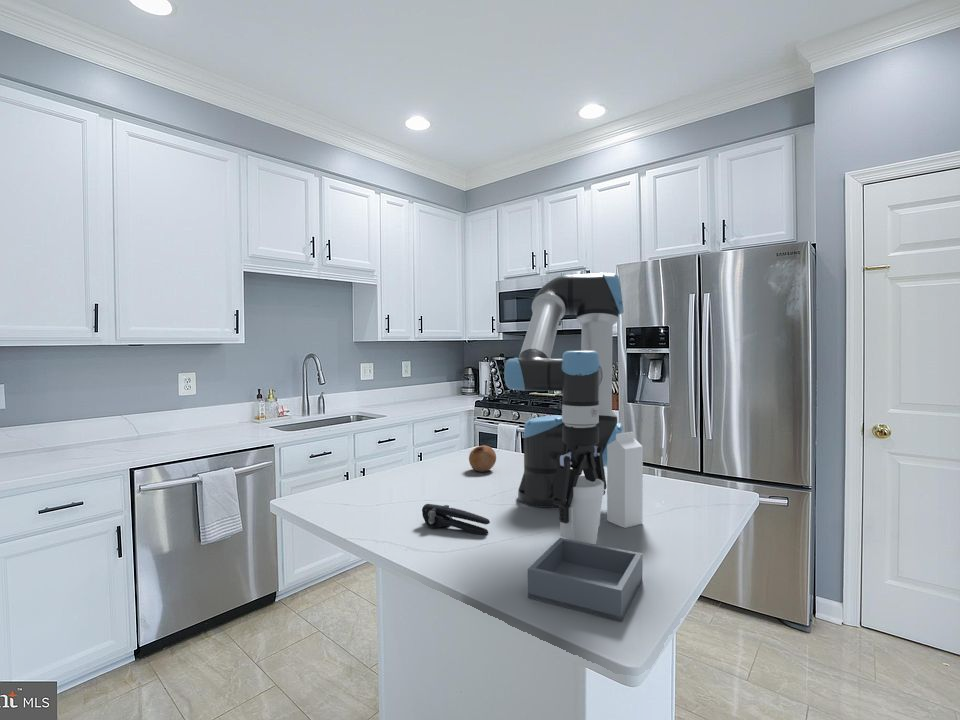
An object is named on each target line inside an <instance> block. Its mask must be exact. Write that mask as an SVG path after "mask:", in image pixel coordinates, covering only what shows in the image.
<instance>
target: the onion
mask: <svg viewBox="0 0 960 720" xmlns="http://www.w3.org/2000/svg"><path fill="white" fill-rule="evenodd" d="M468 455H469V456H468V461H469V464H470V467H471V469H472V470H474V471H476V472H480V473H485V472H487V471H490V470H491V469H493V468H494V466H495V464H496V462H497V455H496V452H495V450H494V449H493V448H492V447H491V446H488V445H485V444H484V445H479V446H476V447H474V448H473V449H472V450H471V451H470V453H469V454H468Z"/></svg>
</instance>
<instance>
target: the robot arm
mask: <svg viewBox="0 0 960 720" xmlns="http://www.w3.org/2000/svg"><path fill="white" fill-rule="evenodd" d="M622 295H623V294H622V287H621V281H620V277H619V275H618V274H616V273H614V272H613V273H612V272H608V273H607V272H599V273H583V274H580V273H579V274H564V275H559V276H557V277H555V278H552V279H551V280H550V281H548V282H547V283H545V284H544V285H543V286H542V287H541V288H540V289H539V290H538V291H537V292H536V294H535V296H534V297H533V300H532V302H531V311H532V316H531V317H530V318H531V319H530V321H529V325H528V327H527V331H526V334H525V337H524V340H523V344H522V345H521V349H520V352H519V356H518V357H514V358H508V359H507V360H506V362H505V364H504V371H503V372H504V373H503V375H504V376H503V377H504V382H505V386H506V388H508V389H509V390H514V391H522V392H525V391H526V392H527V391H529V392H531V391H532V392H533V391H535V392H536V391H537V392H538V391H539V392H545V391H546V392H549V391H551V392H562V404H561V406H562V407H561V414H560V415H558V414H554V415H553V414H552V415H544V416H537V417H533V418H530V419H528V420H527V421H526V422H525V423H524V429H523V435H522V436H523V437H522V438H523V468H524V469H523V474H522V477H521V479H520V480H521V481H520V484H519V487H518V489H517V490H518V491H517V499H518V501H519V502H520V503H522V504H523V505H524V504H525V505H528V506H531V507H538V508H557V507H558V508H559V525H560V527H559V529H560V531H559V537H560V538H564V539H565V538H568V539H571V540H572V539H573V507H572V506H571V502H572V499H573V487H576V484H577V480H578V477H579V476H582V474H584V475H583V476H585V478H586V480H589V481H591V482H594V481H595V479H600V480H602V481H603V482H604V495H603V496H605V494H606V490H607V480H606V479H607V478H606V472H605V467H607V445H608V444H610V443H612V442H613V441H615V440H616V434H619V433H623V430H624V429H623V428H624V426H623V423H621V422H618V415H617V414H616V413H615V412H614V411H613V410H612V409H613V405H612V404H613V403H612V402H613V331H614V330H613V328H614V325H615V324H616V323H617V322H618V321H619V315H622V314H624V305H623V296H622ZM567 315H568V316H569V315H570V316H573V315H574V316H576V322H578V323H579V324H580V326H581V336H580V337H581V340H580V341H581V342H580V343H581V347H580V350H566V351H564V352H563V354H562V358H551V357H552V353H553V348H554V345H555V341H556V337H557V336H556V335H557V332H558V328H559V324H560V321H561V320H562V319H563V318H564V316H567ZM566 499H567V501H566ZM600 526H601V519H600V520H599V527H600Z"/></svg>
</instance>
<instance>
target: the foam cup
mask: <svg viewBox="0 0 960 720" xmlns="http://www.w3.org/2000/svg"><path fill="white" fill-rule="evenodd" d="M604 496H605V495H604V482H603V481H602V480H600V479H595V481H594V482H591V481H589V480H586V478H585V475H580V476H579V477H578V480H577V484H576V487H573V499H572V502H571V506H572V507H573V539H572V540H575V541H580V542H585V543H591V544H596V545H597V541H598V534H599V527H600V526H599V520H600V521H601V513H602V511H601V510H602V503H603V497H604ZM566 501H567V499H566ZM564 539H568V538H564ZM569 540H571V539H569Z"/></svg>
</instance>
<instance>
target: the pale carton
mask: <svg viewBox="0 0 960 720" xmlns="http://www.w3.org/2000/svg"><path fill="white" fill-rule="evenodd" d="M643 456H644V448H643V445H642V444H641V443H640V442H639V441H638V440H637V439H636V438H635V433H634V431H627V432H622V433H619V434H616V440H615V441H613V442H612V443H610V444H608V445H607V466H606V467H607V468H606V471H607V473H606V475H607V477H606V479H607V480H606V497H607V499H606V504H607V505H606V506H607V507H606V511H607V512H606V513H607V514H606V521H607V522H610V523H611V524H615V525H617V526H619V527H621V528H624V529H626V528H630V527H634V526H635V527H636V526H639V525H642V524H643V522H644V520H643V519H644V518H643V514H644V513H643V511H644V509H643V507H644V506H643V504H644V503H643V497H644V496H643V495H644V493H643V491H644V490H643V488H644V487H643V486H644V485H643V484H644V480H643V478H644V477H643V476H644V472H643V471H644V469H643V467H644V463H643V460H644V457H643Z"/></svg>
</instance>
